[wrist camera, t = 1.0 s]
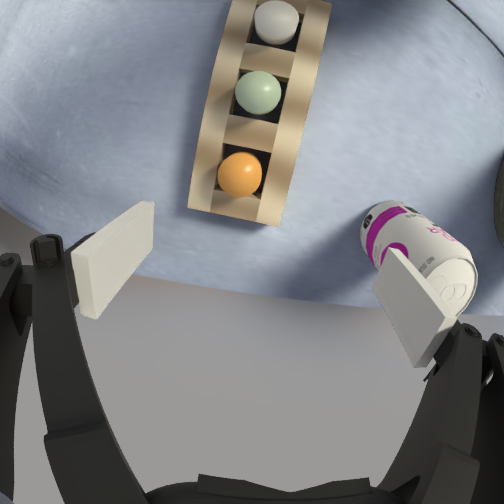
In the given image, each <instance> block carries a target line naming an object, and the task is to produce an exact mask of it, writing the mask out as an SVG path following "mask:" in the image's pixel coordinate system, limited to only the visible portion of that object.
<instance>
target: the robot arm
mask: <svg viewBox="0 0 504 504" xmlns="http://www.w3.org/2000/svg"><path fill="white" fill-rule="evenodd" d="M154 206H155V202H149V201H143V200H142V201H140V202H139V203H137V204H136V205H134V206H133V207H131V208H130V209H129V210H127V211H126V212H124V213H123V214H121V215H120V216H119V217H117V218H116V219H114V220H113V221H111V222H110V223H109V224H107V225H106V226H105V227H103V228H102V229H101V230H99V231H98V232H97V233H95V232H94V233H91V234H89V235H86V236H84V237H83V238H82V239H80V240H79V242H76V243H75V244H74V246H73V245H72V246H71V247H70V248H69V249H67V250H66V251H65V252H64V251H63V241H62V238H61V236H59V235H55V234H46V235H41V236H39V237H37V238H35V239H33V240H32V241H31V243H30V248H31V254H32V259H33V264H34V265H33V266H30V265H22V263H21V258H20V256H19V254H16V253H5V254H2V255H1V256H0V504H14V503H13V492H14V426H15V425H14V424H15V412H16V402H17V394H18V386H19V379H20V373H21V368H22V362H23V357H24V352H25V347H26V343H27V339H28V335H29V331H30V327H31V323H33V342H34V354H35V363H36V372H37V378H38V385H39V391H40V396H41V402H42V407H43V412H44V417H45V421H46V425H47V430H48V434H46V435H45V436H44V444H45V449H46V453H47V456H48V460H49V463H50V466H51V469H52V472H53V475H54V478H55V480H56V483H57V486H58V488H59V491H60V493H61V496H62V498H63V501H64V502H65V504H504V337H503V336H502V335H499V334H496V333H494V334H492V336H491V337H490V339H489V341H488V342H487V341H484V340H482V336H481V333H479V331H478V330H477V329H476V328H475V327H474V326H471V325H469V324H466V323H463V324H460V322H459V321H458V320H457V317H456V316H455V315H454V313H453V312H452V311H451V310H450V308H449V307H448V306H447V304H446V303H445V302H444V301H443V299H442V298H441V297H440V296H439V295H438V293H437V292H436V291H435V290H434V289H433V287H432V286H431V285H430V284H429V283H428V281H427V280H426V279H425V278H424V277H423V276H422V275H421V273H420V272H419V271H418V270H417V269H416V268H415V267H414V265H413V264H412V263H411V262H410V261H409V260H408V259H407V258H406V257H405V256H404V254H403V253H402V252H401V251H400V250H399V249H394V248H390V247H388V249H387V252H386V255H385V257H384V260H383V263H382V265H381V268H380V270H379V273H378V275H377V278H376V280H375V282H374V285H373V287H372V289H373V290H374V292H375V294H376V296H377V297H378V299H379V301H380V303H381V305H382V306H383V308H384V310H385V312H386V314H387V316H388V318H389V319H390V321H391V323H392V325H393V327H394V329H395V331H396V333H397V335H398V337H399V339H400V341H401V342H402V345H403V347H404V348H405V351H406V353H407V355H408V357H409V359H410V361H411V363H412V365H413V367H414V368H418V367H427V365H428V364H429V362H430V361H431V360H432V358H433V357H434V359H435V361H436V364H435V365H434V367H433V368H432V369H431V371H430V372H429V374H428V375H427V376H426V377H425V379H424V380H423V381H424V382H425V381H426V380H427V379H428V382H427V385H426V388H425V391H424V393H423V396H422V399H421V402H420V404H419V407H418V409H417V412H416V414H415V417H414V419H413V422H412V424H411V426H410V428H409V430H408V433H407V435H406V437H405V439H404V441H403V443H402V445H401V448H400V450H399V452H398V453H397V456H396V457H395V460H394V461H393V463H392V465H391V467H390V469H389V470H388V472H387V474H386V476H385V478H384V479H383V481H382V482H381V483H380V484H379V485H378V486H377V487H371V486H370V482H369V477H368V478H360V479H353V480H343V481H332V482H329V483H326V484H323V485H319V486H315V487H312V488H308V489H304V490H300V491H296V492H285V491H281V490H277V489H273V488H269V487H265V486H262V485H258V484H255V483H252V482H248V481H245V480H236V479H228V478H221V477H215V476H208V475H203V474H199V476H198V482H184V483H176V484H171V485H166V486H163V487H160V488H157V489H155V490H152V491H150V492H148V493H146V494H145V492H144V491H143V489H142V487H141V485H140V484H139V482H138V480H137V479H136V477H135V475H134V473H133V472H132V470H131V468H130V466H129V464H128V462H127V460H126V459H125V457H124V455H123V453H122V451H121V449H120V447H119V444H118V442H117V441H116V438H115V436H114V433H113V431H112V429H111V427H110V425H109V422H108V420H107V417H106V415H105V412H104V410H103V407H102V405H101V402H100V399H99V397H98V394H97V391H96V388H95V385H94V382H93V379H92V376H91V374H90V370H89V367H88V364H87V360H86V357H85V353H84V350H83V346H82V342H81V339H80V335H79V331H78V326H77V322H76V317H75V313H74V308H75V306H76V305H77V304H78V303H79V307H80V311H81V315H84V316H86V317H90V318H93V319H96V320H97V319H98V317H99V316H100V315H101V313H102V312H103V311H104V309H105V308H106V306H107V305H108V304H109V303H110V301H111V300H112V299H113V297H114V296H115V294H116V293H117V292H118V291H119V290H120V288H121V287H122V286H123V284H124V283H125V282H126V281H127V279H128V278H129V277H130V276H131V274H132V273H133V272H134V271H135V269H136V268H137V267H138V266H139V264H140V263H141V262H142V261H143V260H144V258H145V257H146V256H147V255H148V254H149V252H150V251H151V250H152V249H153V223H154ZM492 374H493V377H492V379H491V381H490V382H489V383H488V384H487V383H486V381H487V380H488V379H489V377H490V376H491V375H492Z"/></svg>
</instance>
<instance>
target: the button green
mask: <svg viewBox="0 0 504 504" xmlns="http://www.w3.org/2000/svg"><path fill="white" fill-rule="evenodd" d="M235 95H236V99H237V101H238V103H239V104H240V105H241V106H242V107H243V108H244V109H245V110H246V111H248V112H249V113H252V114H255V115H263V114H267V113H269V112H271V111H272V110H273V109H274V108H275V107H276V106H277V104H278V102H279V100H280V97H281V87H280V84H279V82H278V81H277V79H276V78H275V77H274V76H272V75H271V74H269V73H267V72H264V71H253V72H249V73H247V74H245V75H244V76H242V77H241V78H240V80H239V81H238V83H237V85H236V88H235Z"/></svg>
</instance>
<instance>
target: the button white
mask: <svg viewBox="0 0 504 504" xmlns="http://www.w3.org/2000/svg"><path fill="white" fill-rule="evenodd" d="M254 19H255V27H256V33H257V35H258V36H259V38H260V39H261V40H263V41H264V42H266V43H269V44H273V45H280V44H284V43H287V42H288V41H290V40H291V39H292V38H293V36H294V34H295V31H296V28H297V25H298V22H299V15H298V12H297V11H296V9H295V8H294V7H293V6H292V5H290V4H288V3H286V2H283V1H278V0H273V1H268V2H265V3H263V4H261V5H260V6H259V7H258V8H257V9H256V11H255V15H254Z"/></svg>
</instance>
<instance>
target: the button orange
mask: <svg viewBox="0 0 504 504" xmlns="http://www.w3.org/2000/svg"><path fill="white" fill-rule="evenodd" d="M261 177H262V167H261V163H260V161H259V160H258V158H257V157H256V156H254V155H253V154H251V153H249V152H243V151H241V152H236V153H234V154H232V155H230V156H229V157H228V158H227V159H225V160H224V161H223V162H222V163H221V165H220V167H219V169H218V182H219V185H220V187H221V188H222V189H223V190H224V191H225V192H226V193H227V194H229V195H231V196H234V197H246V196H249V195H251V194H252V193H254V192H255V191H256V190H257V188H258V187H259V185H260V182H261Z"/></svg>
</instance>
